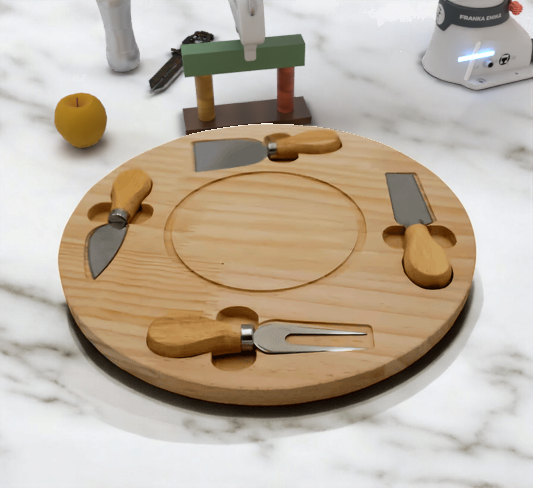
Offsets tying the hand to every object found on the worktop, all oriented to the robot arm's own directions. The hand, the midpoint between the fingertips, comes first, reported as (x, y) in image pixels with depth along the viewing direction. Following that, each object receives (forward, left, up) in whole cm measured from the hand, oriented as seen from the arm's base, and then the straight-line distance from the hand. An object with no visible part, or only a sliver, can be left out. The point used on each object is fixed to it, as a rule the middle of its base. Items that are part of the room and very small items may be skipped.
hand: (245, 44), depth 106 cm
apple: (+28, +2, -15) cm, 32 cm away
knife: (+10, -22, -15) cm, 28 cm away
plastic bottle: (+21, -23, -15) cm, 35 cm away
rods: (0, 0, -14) cm, 14 cm away
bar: (0, 0, -4) cm, 4 cm away
